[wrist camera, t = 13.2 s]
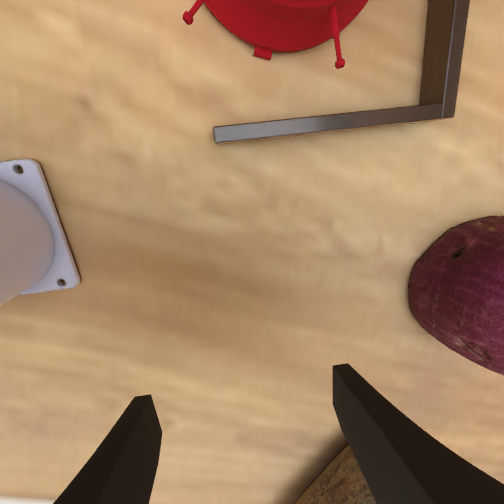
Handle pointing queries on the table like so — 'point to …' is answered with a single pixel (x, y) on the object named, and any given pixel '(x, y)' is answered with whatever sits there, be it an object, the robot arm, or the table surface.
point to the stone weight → (339, 484)
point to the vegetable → (464, 291)
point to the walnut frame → (430, 109)
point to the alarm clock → (283, 22)
